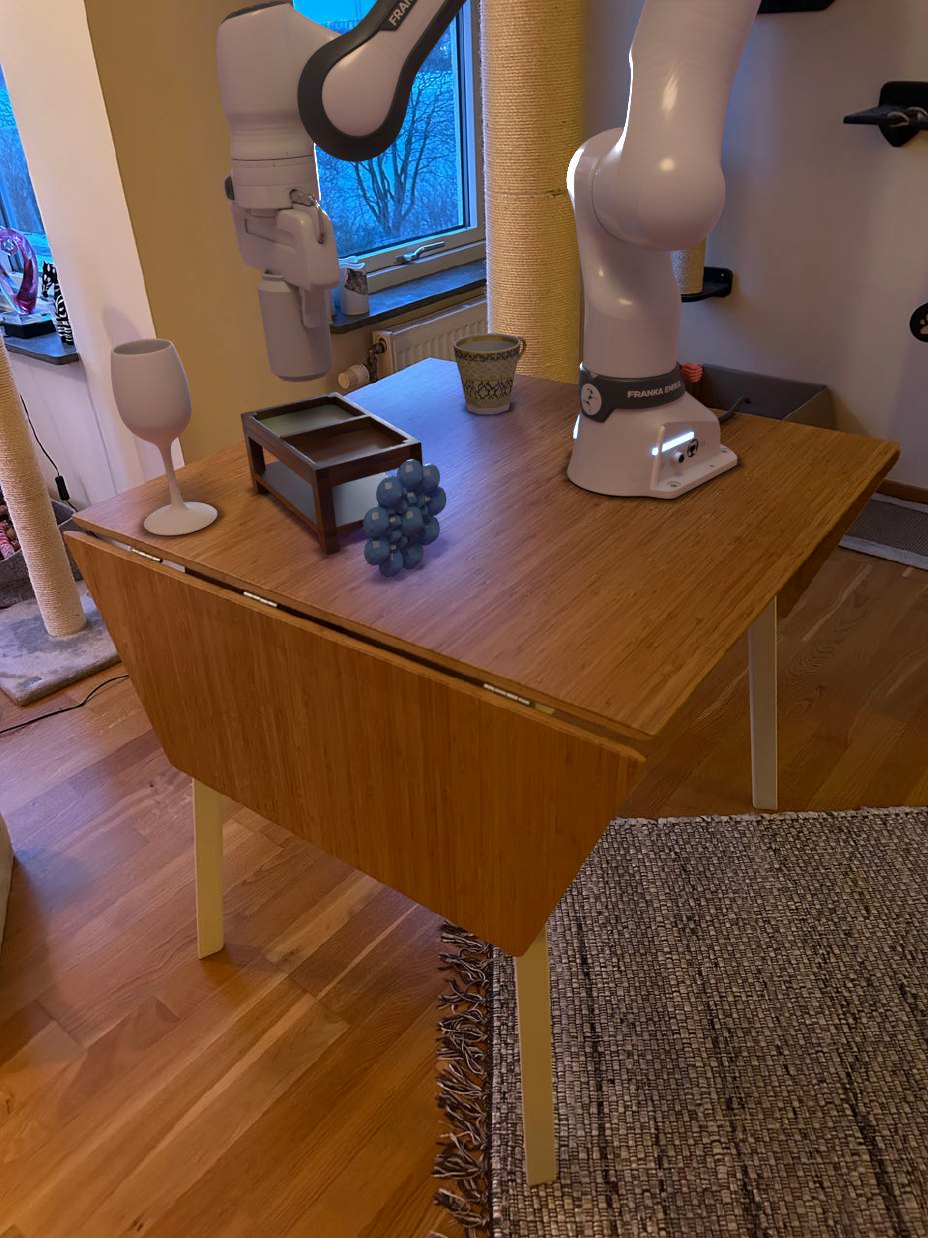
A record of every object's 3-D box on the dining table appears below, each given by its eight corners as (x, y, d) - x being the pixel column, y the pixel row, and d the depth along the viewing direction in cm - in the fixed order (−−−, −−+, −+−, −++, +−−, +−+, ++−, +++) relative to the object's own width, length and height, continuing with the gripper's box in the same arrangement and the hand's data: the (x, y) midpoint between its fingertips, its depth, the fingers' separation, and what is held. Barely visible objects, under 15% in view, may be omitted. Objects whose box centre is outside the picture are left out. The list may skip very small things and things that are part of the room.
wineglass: (198, 538, 107) (159, 358, 95) (130, 534, 108) (84, 357, 97) (229, 506, 114) (196, 335, 103) (165, 502, 115) (125, 334, 104)
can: (321, 360, 113) (308, 257, 106) (344, 376, 107) (332, 268, 101) (263, 371, 110) (246, 266, 103) (283, 388, 104) (266, 278, 98)
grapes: (418, 537, 105) (411, 437, 98) (462, 554, 101) (457, 451, 94) (342, 576, 98) (329, 472, 91) (386, 597, 94) (375, 489, 87)
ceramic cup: (486, 423, 135) (484, 355, 129) (442, 408, 141) (439, 342, 136) (548, 402, 142) (549, 336, 136) (504, 388, 148) (503, 325, 143)
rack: (344, 465, 124) (335, 390, 118) (427, 523, 108) (421, 439, 102) (253, 489, 118) (239, 412, 112) (326, 555, 102) (315, 468, 96)
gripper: (347, 192, 91) (361, 332, 99) (268, 174, 106) (285, 297, 114) (289, 199, 89) (307, 342, 96) (216, 180, 103) (237, 306, 111)
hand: (295, 318), depth 105 cm, fingers closed on can, 7 cm apart
